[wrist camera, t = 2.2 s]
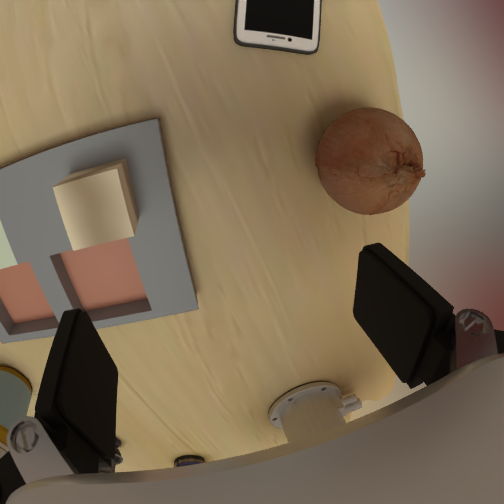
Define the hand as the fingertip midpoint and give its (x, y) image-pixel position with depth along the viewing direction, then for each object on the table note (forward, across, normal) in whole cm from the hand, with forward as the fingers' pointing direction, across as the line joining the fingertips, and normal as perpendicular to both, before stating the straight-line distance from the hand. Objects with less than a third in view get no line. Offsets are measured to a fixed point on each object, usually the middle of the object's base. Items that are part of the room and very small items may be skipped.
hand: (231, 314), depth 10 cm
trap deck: (+19, +14, +4) cm, 24 cm away
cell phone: (+20, -10, -17) cm, 28 cm away
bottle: (+19, +33, +22) cm, 44 cm away
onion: (+19, -15, 0) cm, 24 cm away
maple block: (+17, +8, 0) cm, 18 cm away
